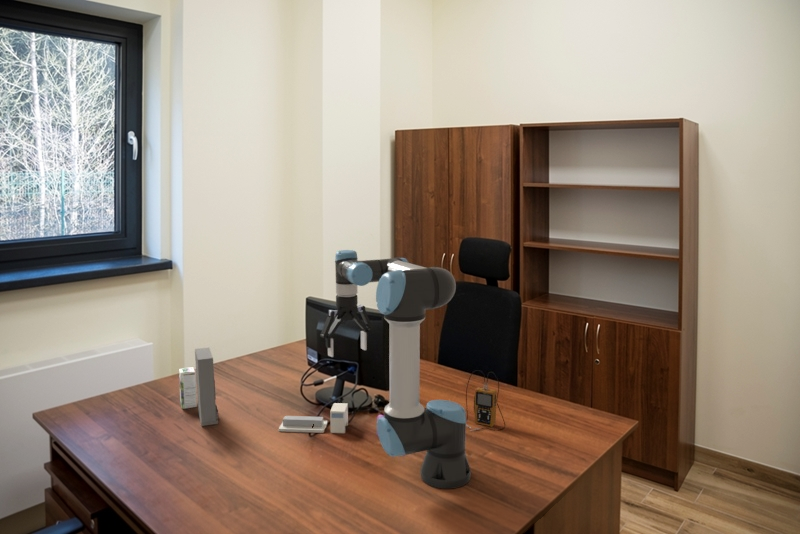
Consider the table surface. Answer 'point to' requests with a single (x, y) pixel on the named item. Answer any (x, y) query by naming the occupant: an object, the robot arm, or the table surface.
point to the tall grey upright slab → (206, 387)
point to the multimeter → (484, 405)
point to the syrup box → (187, 388)
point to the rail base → (303, 429)
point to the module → (339, 417)
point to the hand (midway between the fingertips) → (347, 352)
